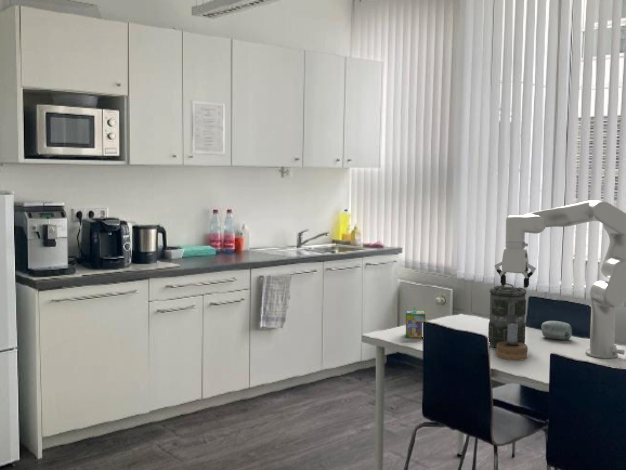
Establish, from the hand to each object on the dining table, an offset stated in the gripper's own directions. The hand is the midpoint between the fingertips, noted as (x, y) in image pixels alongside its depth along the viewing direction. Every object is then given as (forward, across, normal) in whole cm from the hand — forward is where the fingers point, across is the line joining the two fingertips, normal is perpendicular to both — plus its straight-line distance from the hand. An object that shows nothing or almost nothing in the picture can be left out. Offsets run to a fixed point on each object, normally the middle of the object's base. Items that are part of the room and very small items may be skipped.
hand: (514, 286), depth 293 cm
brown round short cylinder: (+30, +1, +1) cm, 30 cm away
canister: (+30, +10, -15) cm, 35 cm away
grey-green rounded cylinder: (+31, -3, -42) cm, 52 cm away
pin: (+30, +1, +1) cm, 30 cm away
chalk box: (+30, +51, -6) cm, 59 cm away
